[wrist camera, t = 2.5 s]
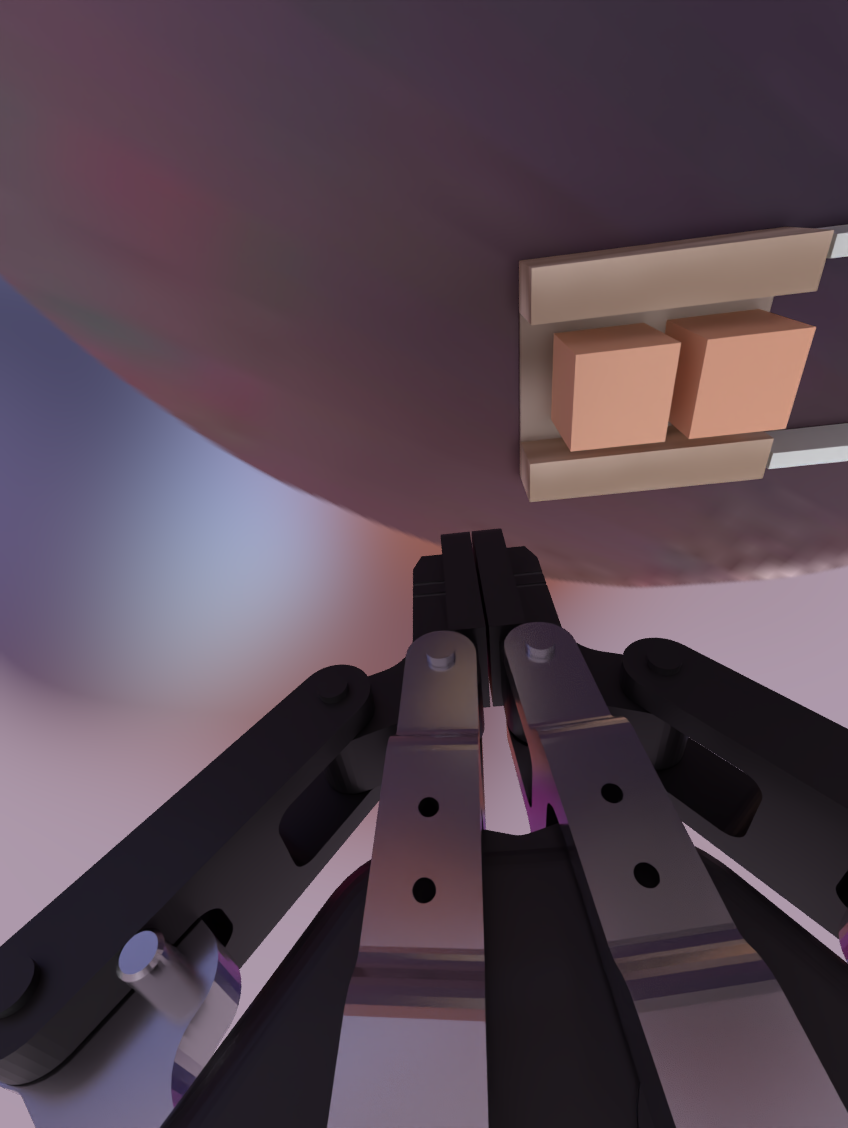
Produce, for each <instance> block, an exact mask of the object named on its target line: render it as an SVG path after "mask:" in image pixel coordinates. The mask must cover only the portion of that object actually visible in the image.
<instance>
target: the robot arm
mask: <svg viewBox="0 0 848 1128" xmlns="http://www.w3.org/2000/svg"><path fill="white" fill-rule="evenodd" d="M441 545H442V555H432V556H422V557H421V558H420V560H419V561H418V563H417V564H416V566H415V567H414V569H413V643H412V644H411V645H410V647H409V649H408V650H407V654H406V657H405V658H404V659H403V660H402V661H401V662H399V663H398V664H397V665H395V666H393V667H391V668H390V669H387V670H385V671H382V672H379V673H376V674H374V675H371V676H367V675H366V674H365V673H364V672H363V671H362V670H361V669H359V668H357V667H354V666H350V665H334V666H330V667H326V668H323V669H321V670H319V671H317V672H316V673H314V674H313V675H311V676H310V677H309V678H308V679H306V680H305V681H304V682H303V683H302V684H301V685H300V686H298V687H297V688H296V689H295V690H294V691H293V692H292V693H290V694H289V695H288V696H287V697H286V698H285V699H284V700H282V701H281V702H280V703H279V704H278V705H277V706H276V707H275V708H273V709H272V710H271V711H270V712H269V713H267V714H266V715H265V716H264V717H263V718H262V719H261V720H259V721H258V722H257V723H256V724H255V725H254V726H253V727H251V728H250V729H249V730H248V731H247V732H246V733H245V734H243V735H242V736H241V737H240V738H239V739H238V740H236V741H235V742H234V743H233V744H232V745H231V746H230V747H228V748H227V749H226V750H225V751H224V752H223V753H222V754H221V755H219V756H218V757H217V758H216V759H215V760H214V761H212V762H211V763H210V764H209V765H208V766H207V767H206V768H204V769H203V770H202V771H201V772H200V773H199V774H198V775H197V776H195V777H194V778H193V779H192V780H191V781H189V782H188V783H187V784H186V785H185V786H184V787H183V788H181V789H180V790H179V791H178V792H177V793H176V794H175V795H173V796H172V797H171V798H170V799H169V800H168V801H167V802H165V803H164V804H163V805H162V806H161V807H160V808H159V809H157V810H156V811H155V812H154V813H153V814H152V815H151V816H149V817H148V818H147V819H146V820H145V821H144V822H143V823H142V824H140V825H139V826H138V827H137V828H136V829H134V830H133V831H132V832H131V833H130V834H129V835H128V836H127V837H125V838H124V839H123V840H122V841H121V842H120V843H118V844H117V845H116V846H115V847H114V848H113V849H112V850H110V851H109V852H108V853H107V854H106V855H105V856H104V857H102V858H101V859H100V860H99V861H98V862H97V863H96V864H94V865H93V866H92V867H91V868H90V869H89V870H88V871H86V872H85V873H84V874H83V875H82V876H81V877H80V878H79V879H77V880H76V881H75V882H74V883H73V884H72V885H70V886H69V887H68V888H67V889H66V890H65V891H63V892H62V893H61V894H60V895H59V896H58V897H57V898H55V899H54V901H52V902H51V903H50V904H49V905H47V906H46V907H45V908H44V909H43V910H42V911H41V912H39V913H38V914H37V915H36V916H35V917H34V918H33V919H31V921H29V922H28V923H27V924H26V925H25V926H23V927H22V928H21V929H20V930H19V931H18V932H17V933H15V934H14V935H13V936H12V937H11V938H10V939H8V940H7V941H6V942H5V943H4V944H3V945H2V946H1V947H0V1086H1V1087H3V1088H4V1089H7V1090H9V1091H12V1092H14V1093H16V1094H19V1095H21V1096H22V1098H23V1100H24V1103H25V1105H26V1107H27V1109H28V1112H29V1114H30V1116H31V1118H32V1121H33V1123H34V1125H35V1128H848V729H847V728H845V727H843V726H841V725H839V724H837V723H835V722H833V721H831V720H829V719H827V718H825V717H823V716H821V715H819V714H817V713H815V712H814V711H812V710H810V709H808V708H806V707H804V706H802V705H800V704H798V703H796V702H794V701H792V700H790V699H788V698H786V697H784V696H782V695H780V694H778V693H776V692H775V691H772V690H770V689H768V688H767V687H764V686H762V685H761V684H759V683H757V682H755V681H753V680H751V679H749V678H747V677H745V676H743V675H741V674H739V673H737V672H735V671H733V670H732V669H730V668H728V667H726V666H724V665H722V664H720V663H718V662H716V661H714V660H712V659H710V658H708V657H706V656H704V655H702V654H700V653H698V652H696V651H694V650H692V649H690V648H688V647H687V646H685V645H682V644H680V643H678V642H675V641H672V640H668V639H663V638H645V639H641V640H638V641H635V642H634V643H632V644H630V645H629V646H628V647H627V648H626V649H625V651H624V653H623V655H622V654H615V653H609V652H602V651H597V650H593V649H589V648H586V647H584V646H582V645H580V644H578V643H576V641H575V640H574V638H573V636H572V635H571V634H570V633H569V632H568V631H566V630H565V629H563V628H562V627H561V624H560V621H559V619H558V615H557V613H556V610H555V607H554V604H553V601H552V598H551V595H550V592H549V590H548V587H547V585H546V581H545V578H544V575H543V574H542V570H541V567H540V564H539V561H538V558H537V557H536V556H535V555H534V554H533V553H532V552H531V551H529V550H528V549H527V548H526V547H525V546H521V547H511V548H506V544H505V541H504V537H503V533H502V530H501V529H491V530H481V531H472V543H471V537H470V532H462V533H452V534H443V535H441ZM488 677H489V678H488ZM489 683H490V690H491V696H492V702H493V706H504V710H505V715H506V728H507V740H508V743H509V747H510V751H511V755H512V759H513V762H514V766H515V770H516V773H517V777H518V781H519V785H520V789H521V792H522V796H523V800H524V804H525V807H526V811H527V815H528V820H529V824H530V831H531V833H529V834H525V835H511V834H505V833H500V832H494V831H489V830H486V819H485V795H484V768H483V744H482V743H483V742H482V735H483V732H484V711H483V708H484V707H490V697H489ZM689 737H690V738H689ZM692 739H693V740H692ZM695 741H696V742H695ZM700 744H701V745H700ZM703 746H704V747H703ZM706 748H707V749H706ZM708 749H709V750H708ZM711 751H712V752H711ZM714 753H715V754H714ZM717 755H718V756H717ZM719 756H720V757H719ZM722 758H723V759H722ZM725 760H726V761H725ZM727 761H728V762H727ZM730 763H731V764H730ZM733 765H734V766H733ZM736 767H737V768H736ZM738 768H739V769H740V770H739V769H738ZM741 770H742V771H741ZM744 772H745V773H744ZM378 801H379V808H378V815H377V822H376V830H375V837H374V844H373V852H372V859H371V860H369V861H368V862H366V863H365V864H363V865H362V866H360V867H359V868H358V869H357V870H356V871H354V872H353V873H352V874H351V875H350V876H348V877H347V878H346V879H345V880H344V881H343V883H342V884H341V885H340V886H339V887H338V888H337V889H336V890H335V891H334V893H333V894H332V895H331V896H330V898H329V899H328V900H327V901H326V903H325V904H324V906H323V907H322V908H321V910H320V911H319V912H318V914H317V915H316V916H315V918H314V919H313V920H312V922H311V923H310V925H309V926H308V927H307V929H306V930H305V931H304V933H303V934H302V936H301V937H300V938H299V940H298V941H297V942H296V943H295V945H294V946H293V948H292V949H291V950H290V952H289V953H288V954H287V956H286V957H285V959H284V960H283V961H282V963H281V964H280V965H279V967H278V968H277V969H276V971H275V972H274V973H273V975H272V976H271V977H270V979H269V980H268V981H267V983H266V984H265V986H264V987H263V988H262V990H261V991H260V992H259V994H258V995H257V996H256V998H255V999H254V1001H253V1002H252V1003H251V1004H250V1006H249V1007H248V1009H247V1010H246V1011H245V1013H244V1014H243V1015H242V1017H241V1018H240V1019H239V1021H238V1022H237V1024H236V1025H235V1026H234V1028H233V1029H232V1030H231V1032H230V1033H229V1034H228V1036H227V1037H226V1038H225V1040H224V1041H223V1042H222V1044H221V1045H220V1046H219V1048H218V1049H217V1051H216V1052H215V1053H214V1051H215V1049H216V1047H217V1046H218V1044H219V1042H220V1041H221V1039H222V1038H223V1036H224V1034H225V1033H226V1031H227V1030H228V1028H229V1026H230V1024H231V1022H232V1020H233V1018H234V1016H235V1013H236V1011H237V1008H238V1005H239V1000H240V994H241V975H240V970H239V969H240V968H241V967H242V965H243V964H244V963H245V962H246V961H247V959H248V958H249V957H250V956H251V955H252V953H253V952H254V951H255V950H256V949H257V947H258V946H259V945H260V944H261V942H262V941H263V940H264V939H265V938H266V937H267V935H268V934H269V933H270V932H271V930H272V929H273V928H274V927H275V926H276V924H277V923H278V922H279V921H280V920H281V918H282V917H283V916H284V915H285V914H286V912H287V911H288V910H289V909H290V908H291V906H292V905H293V904H294V903H295V901H296V900H297V899H298V898H299V897H300V895H301V894H302V893H303V892H304V890H305V889H306V888H307V887H308V886H309V885H310V883H311V882H312V881H313V880H314V878H315V877H316V876H317V875H318V874H319V872H320V871H321V870H322V869H323V868H324V866H325V865H326V864H327V863H328V862H329V860H330V859H331V858H332V857H333V855H334V854H335V853H336V852H337V851H338V850H339V848H340V847H341V846H342V845H343V843H344V842H345V841H346V840H347V839H348V837H349V836H350V835H351V834H352V833H353V831H354V830H355V829H356V828H357V827H358V825H359V824H360V823H361V822H362V820H363V819H364V818H365V817H366V816H367V814H368V813H369V812H370V811H371V810H372V808H373V807H374V806H375V805H376V804H377V802H378ZM682 822H684V823H685V824H686V825H688V826H689V827H691V828H692V829H693V830H694V831H696V832H697V833H698V834H700V835H701V836H702V837H704V838H705V839H706V840H708V841H709V842H710V843H712V844H713V845H714V846H716V847H717V848H718V849H720V850H721V851H722V852H724V853H725V854H726V855H728V856H729V857H730V858H732V859H733V860H734V861H736V862H737V863H738V864H740V865H741V866H743V867H744V868H745V869H746V870H748V871H749V872H750V873H752V874H753V875H754V876H756V877H757V878H758V879H760V880H761V881H762V882H764V883H765V884H766V885H768V886H769V887H770V888H772V889H773V890H774V891H776V892H777V893H778V894H779V895H781V896H782V897H783V898H785V899H787V900H788V901H789V902H790V903H791V904H793V905H794V906H795V907H797V908H798V909H799V910H801V911H802V912H804V913H805V914H806V915H807V916H809V917H810V918H811V919H813V920H814V921H815V922H817V923H818V924H819V925H821V926H822V927H823V928H825V929H826V930H827V931H829V932H830V933H831V934H833V935H834V936H835V937H837V938H838V939H839V941H840V945H841V949H842V952H843V954H844V956H845V959H846V961H847V963H846V962H845V961H844V960H843V959H841V958H840V957H839V956H837V955H836V954H835V953H834V952H833V951H831V950H830V949H829V948H828V947H826V946H825V945H824V944H823V943H822V942H820V941H819V940H818V939H817V938H815V937H814V936H813V935H811V934H810V933H809V932H808V931H807V930H805V929H804V928H803V927H802V926H800V925H799V924H798V923H797V922H795V921H794V920H793V919H792V918H790V917H789V916H788V915H787V914H786V913H784V912H783V911H782V910H781V909H779V908H778V907H777V906H776V905H774V904H773V903H772V902H771V901H769V900H768V899H767V898H766V897H765V896H763V895H762V894H761V893H760V892H758V891H757V890H756V889H755V888H753V887H752V886H751V885H749V884H748V883H747V882H746V881H745V880H743V879H742V878H741V877H740V876H738V875H737V874H736V873H735V872H734V871H732V870H731V869H730V868H728V867H727V866H726V865H724V864H723V863H722V862H720V861H719V860H717V859H715V858H714V857H713V856H711V855H709V854H708V853H707V852H705V851H703V850H701V849H699V848H697V847H695V846H694V845H693V842H692V841H691V839H690V837H689V835H688V833H687V831H686V829H685V827H684V825H683V823H682ZM213 1054H214V1055H213Z"/></svg>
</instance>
